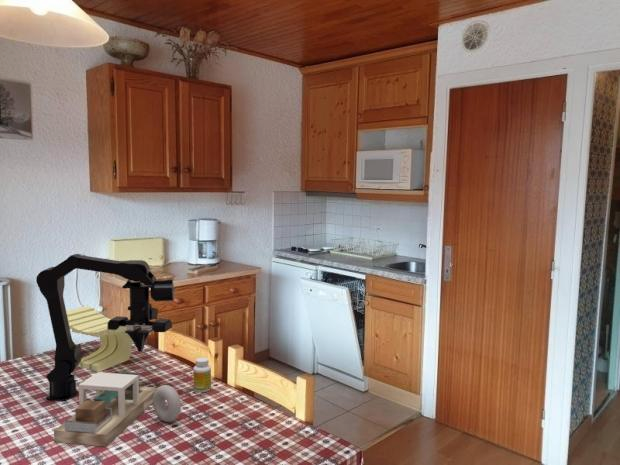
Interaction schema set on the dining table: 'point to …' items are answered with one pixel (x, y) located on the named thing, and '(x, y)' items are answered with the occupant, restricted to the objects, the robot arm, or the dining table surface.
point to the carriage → (106, 397)
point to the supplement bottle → (202, 375)
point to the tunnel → (111, 387)
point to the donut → (172, 399)
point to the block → (90, 411)
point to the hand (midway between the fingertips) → (140, 351)
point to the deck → (113, 425)
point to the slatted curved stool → (113, 341)
